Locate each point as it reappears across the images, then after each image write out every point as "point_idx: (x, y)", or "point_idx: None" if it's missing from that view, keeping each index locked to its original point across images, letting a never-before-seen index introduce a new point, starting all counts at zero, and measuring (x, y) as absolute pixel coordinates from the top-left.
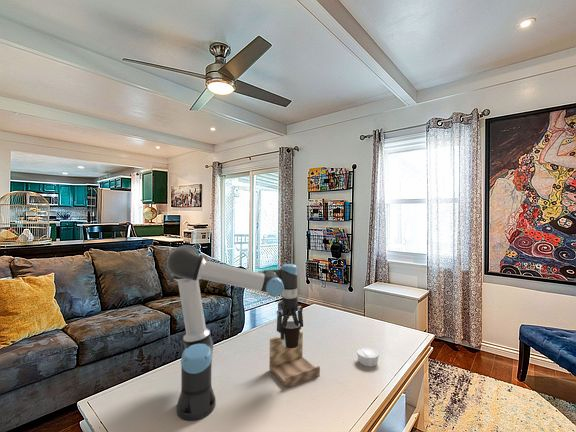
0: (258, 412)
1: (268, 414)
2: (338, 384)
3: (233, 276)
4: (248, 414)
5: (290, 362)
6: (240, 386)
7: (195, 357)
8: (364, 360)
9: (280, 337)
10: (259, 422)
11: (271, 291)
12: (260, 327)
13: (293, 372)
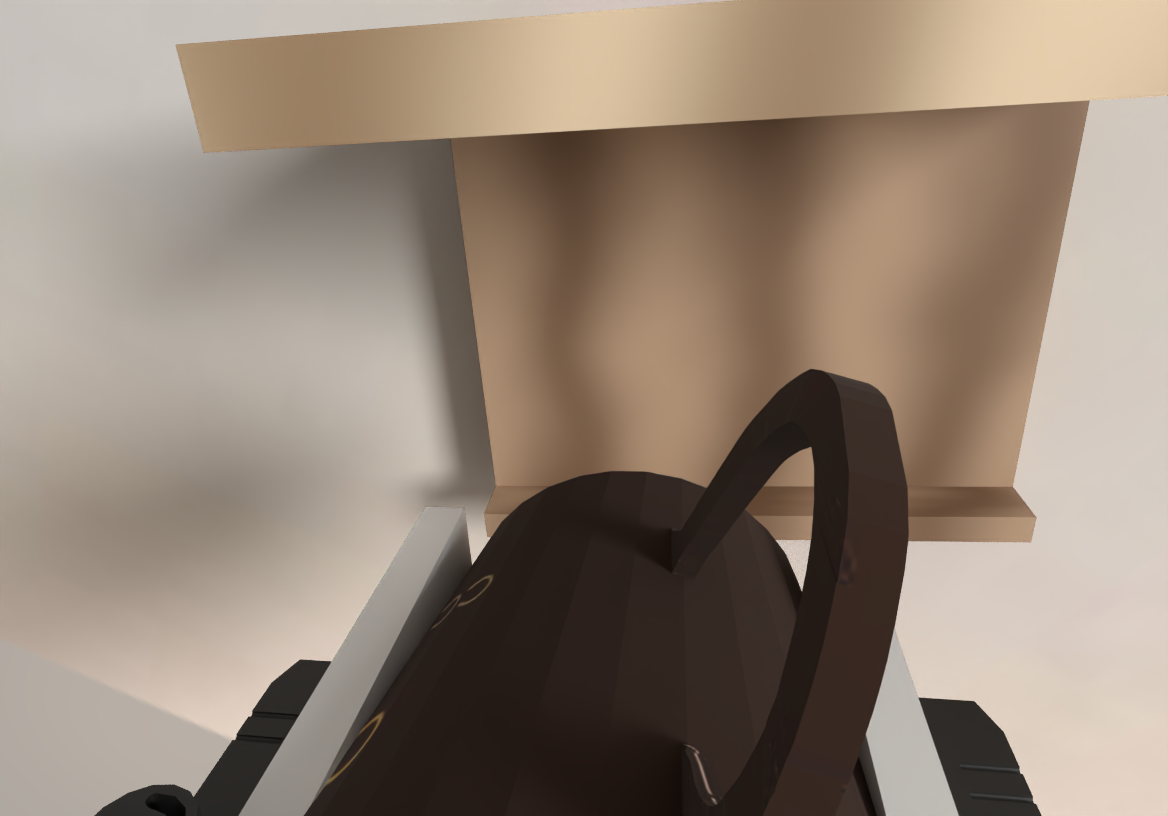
0: (181, 606)
1: (251, 654)
2: (1027, 668)
3: None
4: (104, 588)
5: (790, 129)
6: (44, 215)
7: None
8: None
9: (265, 693)
10: (174, 681)
11: None
12: None
13: (676, 385)
